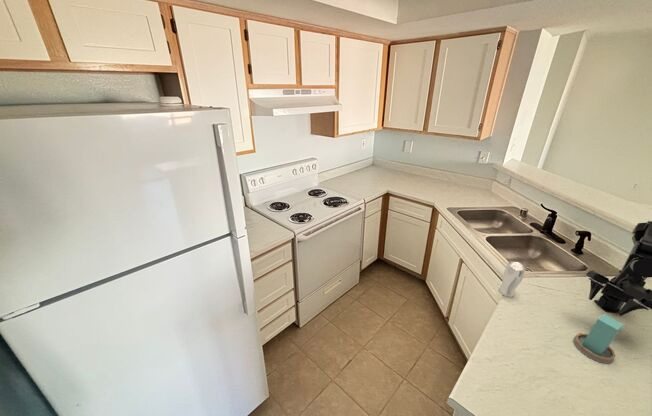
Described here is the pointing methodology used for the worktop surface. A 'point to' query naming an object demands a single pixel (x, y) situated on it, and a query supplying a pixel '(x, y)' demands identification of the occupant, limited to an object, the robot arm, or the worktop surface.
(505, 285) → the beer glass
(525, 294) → the worktop surface
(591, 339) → the teal rectangular block
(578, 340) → the groove tray
